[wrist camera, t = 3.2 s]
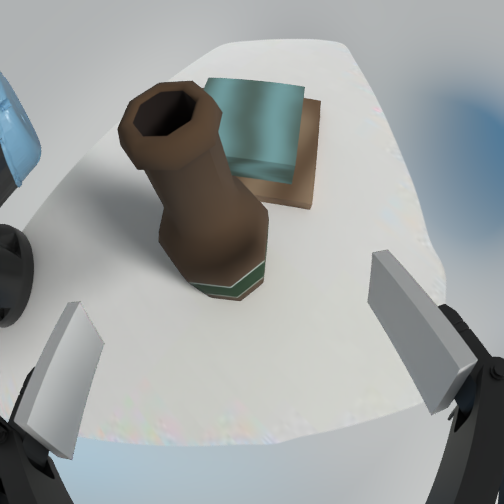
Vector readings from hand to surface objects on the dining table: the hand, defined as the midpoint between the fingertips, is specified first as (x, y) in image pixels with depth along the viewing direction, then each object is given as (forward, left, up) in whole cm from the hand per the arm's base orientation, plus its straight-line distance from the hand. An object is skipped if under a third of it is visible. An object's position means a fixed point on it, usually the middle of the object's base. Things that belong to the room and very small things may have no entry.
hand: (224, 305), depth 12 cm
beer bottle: (-3, +5, -19) cm, 20 cm away
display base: (-4, +21, -18) cm, 28 cm away
